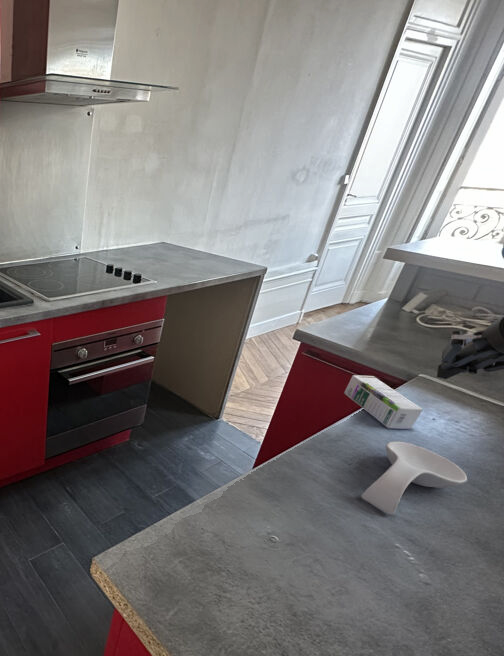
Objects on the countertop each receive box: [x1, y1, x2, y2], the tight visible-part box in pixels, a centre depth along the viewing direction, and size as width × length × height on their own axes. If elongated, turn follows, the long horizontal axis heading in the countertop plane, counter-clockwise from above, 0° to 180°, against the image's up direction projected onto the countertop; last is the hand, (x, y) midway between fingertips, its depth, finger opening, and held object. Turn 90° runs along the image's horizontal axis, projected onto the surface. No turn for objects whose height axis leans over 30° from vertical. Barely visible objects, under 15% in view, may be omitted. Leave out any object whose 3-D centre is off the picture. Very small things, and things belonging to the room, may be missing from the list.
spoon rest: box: [360, 440, 468, 516], centre depth 77 cm, size 24×12×7 cm, turn 120°
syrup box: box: [343, 374, 423, 430], centre depth 100 cm, size 6×6×14 cm
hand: (442, 372), depth 88 cm, fingers closed
